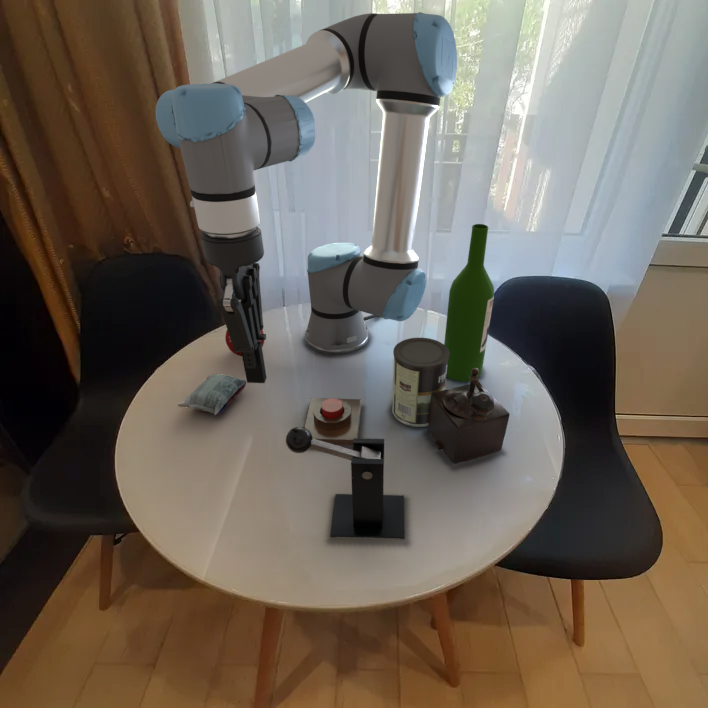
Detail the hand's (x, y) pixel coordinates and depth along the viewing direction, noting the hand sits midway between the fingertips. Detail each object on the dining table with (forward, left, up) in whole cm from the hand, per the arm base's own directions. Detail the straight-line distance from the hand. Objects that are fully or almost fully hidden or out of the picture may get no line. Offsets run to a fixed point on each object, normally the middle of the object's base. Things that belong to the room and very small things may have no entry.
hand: (256, 379), depth 75 cm
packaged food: (-5, -21, -18) cm, 28 cm away
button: (-14, +3, -14) cm, 20 cm away
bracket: (-1, +22, -18) cm, 28 cm away
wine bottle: (-46, +13, -18) cm, 51 cm away
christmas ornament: (-21, -30, -18) cm, 41 cm away
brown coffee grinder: (-24, +27, -18) cm, 40 cm away
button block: (-14, +3, -18) cm, 22 cm away
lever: (+3, +17, -4) cm, 18 cm away
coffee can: (-28, +13, -18) cm, 35 cm away
